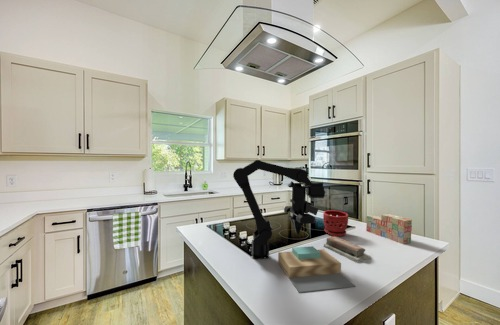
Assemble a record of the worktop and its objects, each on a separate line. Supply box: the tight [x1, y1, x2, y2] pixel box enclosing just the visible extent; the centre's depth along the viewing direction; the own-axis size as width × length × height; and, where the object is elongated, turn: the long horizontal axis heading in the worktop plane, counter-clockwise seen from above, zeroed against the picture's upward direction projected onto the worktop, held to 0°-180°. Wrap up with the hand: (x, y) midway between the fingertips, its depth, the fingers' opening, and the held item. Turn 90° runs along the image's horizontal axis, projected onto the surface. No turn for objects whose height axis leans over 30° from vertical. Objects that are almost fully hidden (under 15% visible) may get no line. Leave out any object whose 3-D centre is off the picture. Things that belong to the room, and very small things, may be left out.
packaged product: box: [323, 236, 372, 263], centre depth 98 cm, size 18×5×10 cm
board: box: [277, 249, 342, 279], centre depth 83 cm, size 20×12×4 cm, turn 101°
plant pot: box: [322, 209, 349, 237], centre depth 121 cm, size 13×13×12 cm
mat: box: [288, 272, 356, 294], centre depth 73 cm, size 20×8×1 cm, turn 101°
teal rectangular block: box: [291, 246, 320, 260], centre depth 85 cm, size 9×6×2 cm, turn 101°
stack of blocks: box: [365, 213, 413, 245], centre depth 119 cm, size 21×6×12 cm, turn 23°
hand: (297, 234), depth 92 cm, fingers closed
